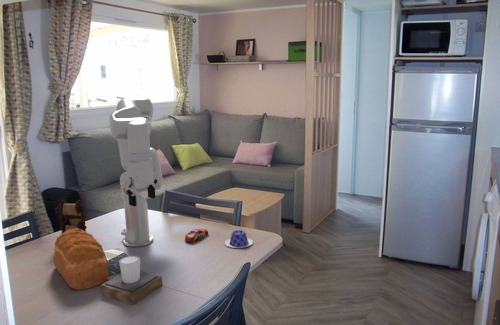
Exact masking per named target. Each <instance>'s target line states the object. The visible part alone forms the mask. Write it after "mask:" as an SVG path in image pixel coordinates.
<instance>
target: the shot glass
mask: <svg viewBox="0 0 500 325" xmlns="http://www.w3.org/2000/svg"><path fill="white" fill-rule="evenodd" d="M118 264H119V268H120V274H121V275H122V280H123V282H124V283H134V282H137V281H138V280H139V279H140V270H141V257H139V256H136V255H129V256H124V257H122V258H120V259H119V261H118Z"/></svg>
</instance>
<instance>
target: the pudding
mask: <svg viewBox="0 0 500 325" xmlns="http://www.w3.org/2000/svg"><path fill="white" fill-rule="evenodd" d="M224 244H225V245H226V246H227V247H229V248H234V249H242V248H247V247H250V246H251V245H253V244H254V240H252V239H251V238H248V236H247V233H246V231H244V230H241V229H240V230H237V229H236V230H234V231H232V232H231V236H230V238H228V239H226V240H225V241H224Z"/></svg>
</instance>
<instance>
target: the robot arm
mask: <svg viewBox="0 0 500 325" xmlns="http://www.w3.org/2000/svg"><path fill="white" fill-rule="evenodd" d="M153 106H154V105H153V103H152V101H151V99H149V98H148V97H144V96H143V97H126V98H122V99H120V100H118V102H117V104H116V111H113V112H112V113H111V114H110V115H109V128H110V132H111V136H112V137H113V139H115V140H116V142H117V145H118V151H119V158H120V163H121V166H122V168H123V169H124V170H125V171H124V172H122V173H121V175H120V177H119V184H120V187H121V192H122V198H123V206H124V207H123V208H124V219H125V221H124V222H125V228H123V229H122V231H121V233H120V234H121V235H122V236H124V238H123V241H122V243H123V245H125V246H127V247H131V248H132V247H136V248H137V247H144V246H147V245H149V244H152V242H153V241H154V236H153V235H151V234H150V225H149V213H148V212H149V210H148V201H147V199H146V198H145V196H143V195H142V193H146V192H147V197H148V198H150V199H156V191H159V190H161V189H162V188H163V185H164V179H163V173H162V168H161V164H160V158H159V154H158V151H157V150H156V149H155V148H154V147H151V145H150V144H151V141H150V134H151V133H152V124H151V123H152V119H153V115H154V107H153Z"/></svg>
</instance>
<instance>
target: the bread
mask: <svg viewBox="0 0 500 325" xmlns="http://www.w3.org/2000/svg"><path fill="white" fill-rule="evenodd" d="M61 233H62V232H61ZM90 234H91V233H88V231H87V230H86V231H83V230H81V229H79V228H74V229H69V230H66V231H65V232H64V233H62V234H60V235H59V236H58V237H56V240H55V242H54V248H55V250H54V252H53V261H54V266H55V268H56V270H57V272H58V273H59V275H61V277H62V278H63V280H64V281H65V283H66V284H67V285H68V286H69V287H70V288H72V289H73V290H76V291H77V290H78V291H81V290H85V289H86V290H87V289H90V288H93V287H97V286H99V285H100V286H101V285H102V284H103V283H105V282H107V281H108V279H109V278H110V273H109V272H110V270H109V264H108V261H107V260H108V259H107V258H106V256H105V252H104V249H103V246H102V245H101V244H100V242H98V241H97V239H95V238H94V236H93V235H92V234H91V235H92V236H93V237H92V236H91V235H90Z"/></svg>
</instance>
